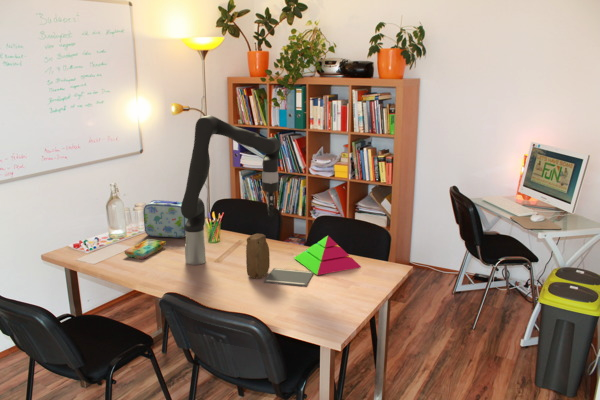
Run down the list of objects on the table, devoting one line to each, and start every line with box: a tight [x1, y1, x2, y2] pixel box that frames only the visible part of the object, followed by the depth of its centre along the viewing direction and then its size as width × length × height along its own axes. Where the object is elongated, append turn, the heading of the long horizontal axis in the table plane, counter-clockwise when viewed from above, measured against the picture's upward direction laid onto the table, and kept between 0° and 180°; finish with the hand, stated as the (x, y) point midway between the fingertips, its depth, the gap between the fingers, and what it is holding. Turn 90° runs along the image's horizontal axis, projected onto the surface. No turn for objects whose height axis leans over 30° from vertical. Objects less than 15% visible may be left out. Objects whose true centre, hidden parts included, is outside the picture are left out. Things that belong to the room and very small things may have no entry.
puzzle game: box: [123, 238, 167, 260], centre depth 283 cm, size 12×5×20 cm
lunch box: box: [143, 199, 188, 239], centre depth 308 cm, size 26×11×21 cm, turn 81°
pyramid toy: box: [293, 235, 362, 276], centre depth 266 cm, size 25×25×14 cm
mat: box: [263, 267, 315, 288], centre depth 250 cm, size 20×16×1 cm
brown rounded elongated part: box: [245, 233, 271, 279], centre depth 251 cm, size 11×8×20 cm
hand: (270, 213), depth 252 cm, fingers open, 8 cm apart
